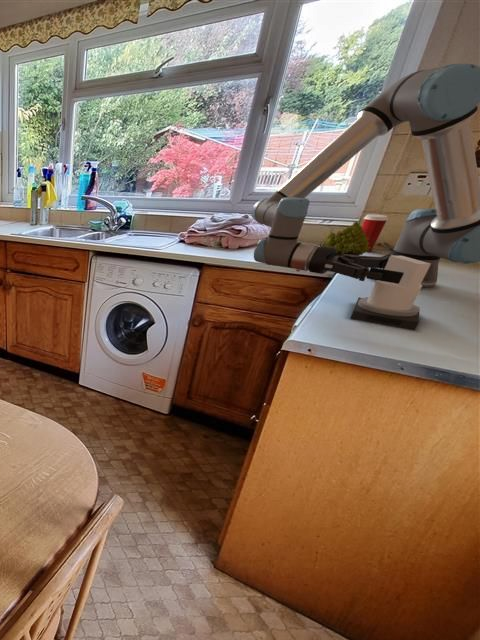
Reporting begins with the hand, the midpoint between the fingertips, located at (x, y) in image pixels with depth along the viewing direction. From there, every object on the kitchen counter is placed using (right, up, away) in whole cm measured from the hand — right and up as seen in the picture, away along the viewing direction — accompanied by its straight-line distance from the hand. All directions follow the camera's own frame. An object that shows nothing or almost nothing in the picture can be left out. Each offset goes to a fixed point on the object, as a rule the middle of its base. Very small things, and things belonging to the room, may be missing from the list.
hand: (409, 273), depth 111 cm
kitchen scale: (0, -10, +7) cm, 12 cm away
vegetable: (+38, +23, +63) cm, 77 cm away
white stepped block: (-1, -7, +5) cm, 9 cm away
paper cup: (+55, +29, +73) cm, 96 cm away
